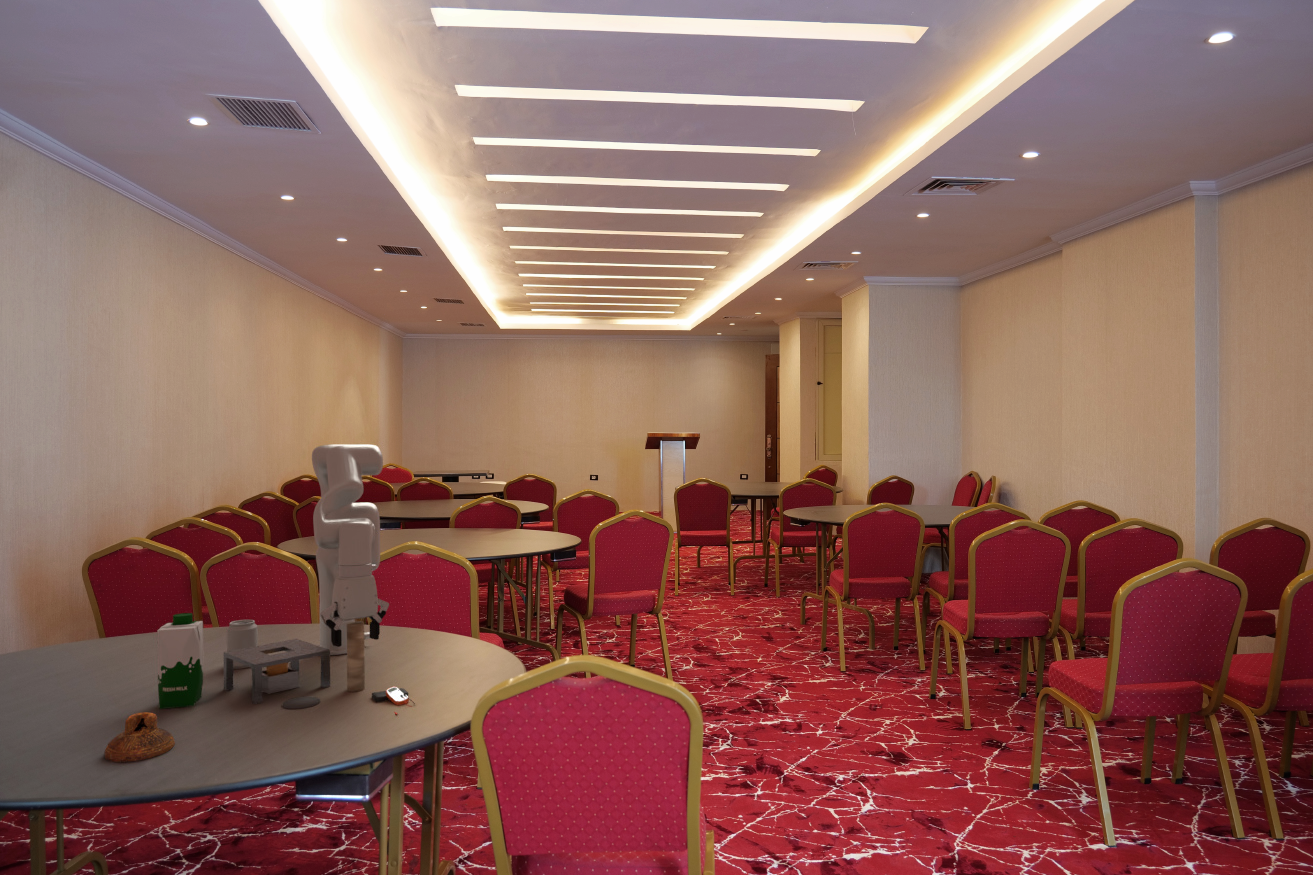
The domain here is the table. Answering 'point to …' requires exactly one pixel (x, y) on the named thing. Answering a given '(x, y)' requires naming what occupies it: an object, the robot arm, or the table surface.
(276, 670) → the orange-brown round lump
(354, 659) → the dowel
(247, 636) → the can
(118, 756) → the brown rounded piece
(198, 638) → the milk carton
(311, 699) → the coaster
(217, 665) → the table surface
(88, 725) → the table surface
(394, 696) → the multimeter
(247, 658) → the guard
